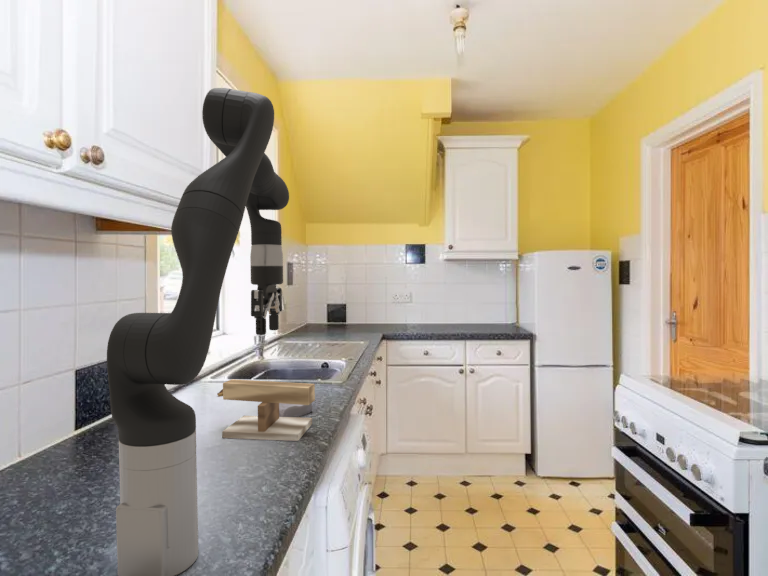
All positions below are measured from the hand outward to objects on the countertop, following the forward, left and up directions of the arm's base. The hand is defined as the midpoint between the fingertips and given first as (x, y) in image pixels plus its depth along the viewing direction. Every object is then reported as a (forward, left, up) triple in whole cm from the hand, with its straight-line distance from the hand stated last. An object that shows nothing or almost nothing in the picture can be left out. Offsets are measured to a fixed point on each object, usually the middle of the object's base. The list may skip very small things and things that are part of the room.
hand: (267, 332), depth 113 cm
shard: (+34, +24, -25) cm, 48 cm away
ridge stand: (0, 0, -24) cm, 24 cm away
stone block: (+13, 0, -24) cm, 28 cm away
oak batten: (0, 0, -16) cm, 16 cm away
